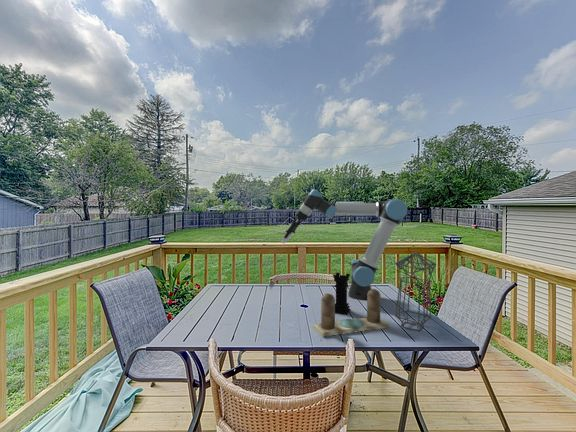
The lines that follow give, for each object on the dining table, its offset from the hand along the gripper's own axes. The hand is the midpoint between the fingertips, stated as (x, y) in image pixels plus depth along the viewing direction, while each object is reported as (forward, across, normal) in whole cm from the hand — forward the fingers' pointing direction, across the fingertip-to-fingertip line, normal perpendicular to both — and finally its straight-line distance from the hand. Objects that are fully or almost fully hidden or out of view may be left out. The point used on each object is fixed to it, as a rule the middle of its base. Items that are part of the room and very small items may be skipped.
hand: (284, 241), depth 184 cm
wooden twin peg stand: (+8, +40, +52) cm, 66 cm away
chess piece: (+10, +17, +48) cm, 52 cm away
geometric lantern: (-8, +34, +76) cm, 84 cm away
